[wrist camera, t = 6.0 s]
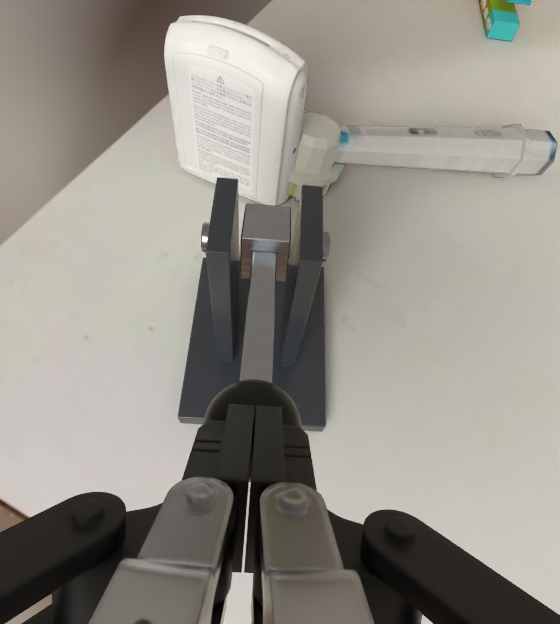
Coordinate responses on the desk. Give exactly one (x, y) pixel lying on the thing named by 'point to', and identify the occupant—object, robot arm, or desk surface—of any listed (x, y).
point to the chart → (501, 18)
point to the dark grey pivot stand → (233, 308)
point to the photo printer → (235, 104)
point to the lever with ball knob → (260, 316)
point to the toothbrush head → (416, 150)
